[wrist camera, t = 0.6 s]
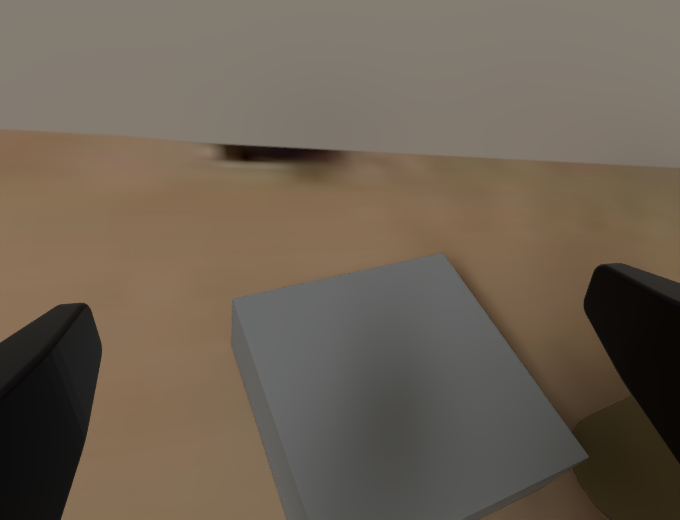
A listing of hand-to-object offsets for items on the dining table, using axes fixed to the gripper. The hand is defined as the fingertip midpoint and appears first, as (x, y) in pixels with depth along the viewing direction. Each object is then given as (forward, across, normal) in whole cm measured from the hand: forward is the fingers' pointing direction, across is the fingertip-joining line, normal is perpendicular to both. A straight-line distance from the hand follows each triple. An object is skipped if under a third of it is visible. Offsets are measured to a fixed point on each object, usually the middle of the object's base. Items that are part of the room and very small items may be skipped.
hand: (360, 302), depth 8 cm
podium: (+9, -4, +14) cm, 17 cm away
